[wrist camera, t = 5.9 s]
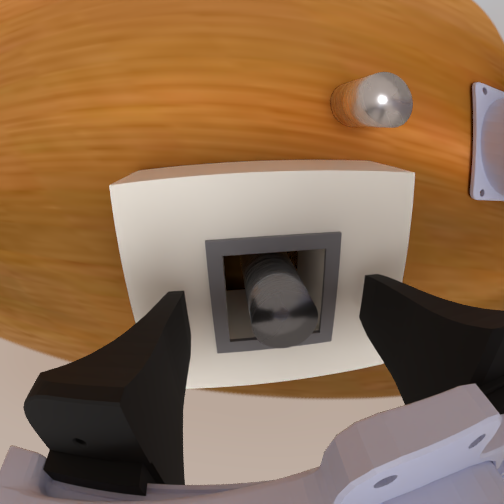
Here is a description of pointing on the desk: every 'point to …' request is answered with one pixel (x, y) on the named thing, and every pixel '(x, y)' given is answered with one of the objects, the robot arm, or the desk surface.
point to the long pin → (277, 300)
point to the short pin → (372, 101)
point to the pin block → (264, 241)
